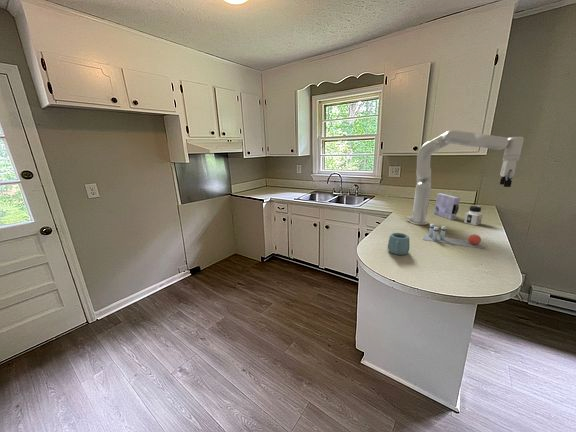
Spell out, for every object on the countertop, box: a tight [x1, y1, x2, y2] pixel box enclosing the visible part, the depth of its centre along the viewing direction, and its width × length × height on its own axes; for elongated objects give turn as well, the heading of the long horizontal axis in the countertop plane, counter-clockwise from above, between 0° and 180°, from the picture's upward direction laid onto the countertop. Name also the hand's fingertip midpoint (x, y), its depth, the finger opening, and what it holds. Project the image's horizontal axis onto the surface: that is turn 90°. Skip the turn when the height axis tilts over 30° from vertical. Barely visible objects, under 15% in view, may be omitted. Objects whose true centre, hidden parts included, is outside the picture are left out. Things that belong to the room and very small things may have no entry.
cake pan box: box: [433, 192, 461, 221], centre depth 194 cm, size 19×5×18 cm, turn 9°
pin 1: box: [428, 223, 436, 237], centre depth 154 cm, size 2×2×8 cm
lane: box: [422, 234, 484, 249], centre depth 148 cm, size 30×10×1 cm, turn 60°
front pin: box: [439, 225, 447, 240], centre depth 149 cm, size 2×2×8 cm
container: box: [464, 205, 484, 226], centre depth 177 cm, size 8×8×13 cm
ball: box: [467, 234, 482, 245], centre depth 141 cm, size 6×6×6 cm
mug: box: [387, 232, 410, 256], centre depth 132 cm, size 15×11×10 cm
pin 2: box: [432, 226, 439, 242], centre depth 148 cm, size 2×2×8 cm
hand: (504, 185), depth 153 cm, fingers open, 9 cm apart
